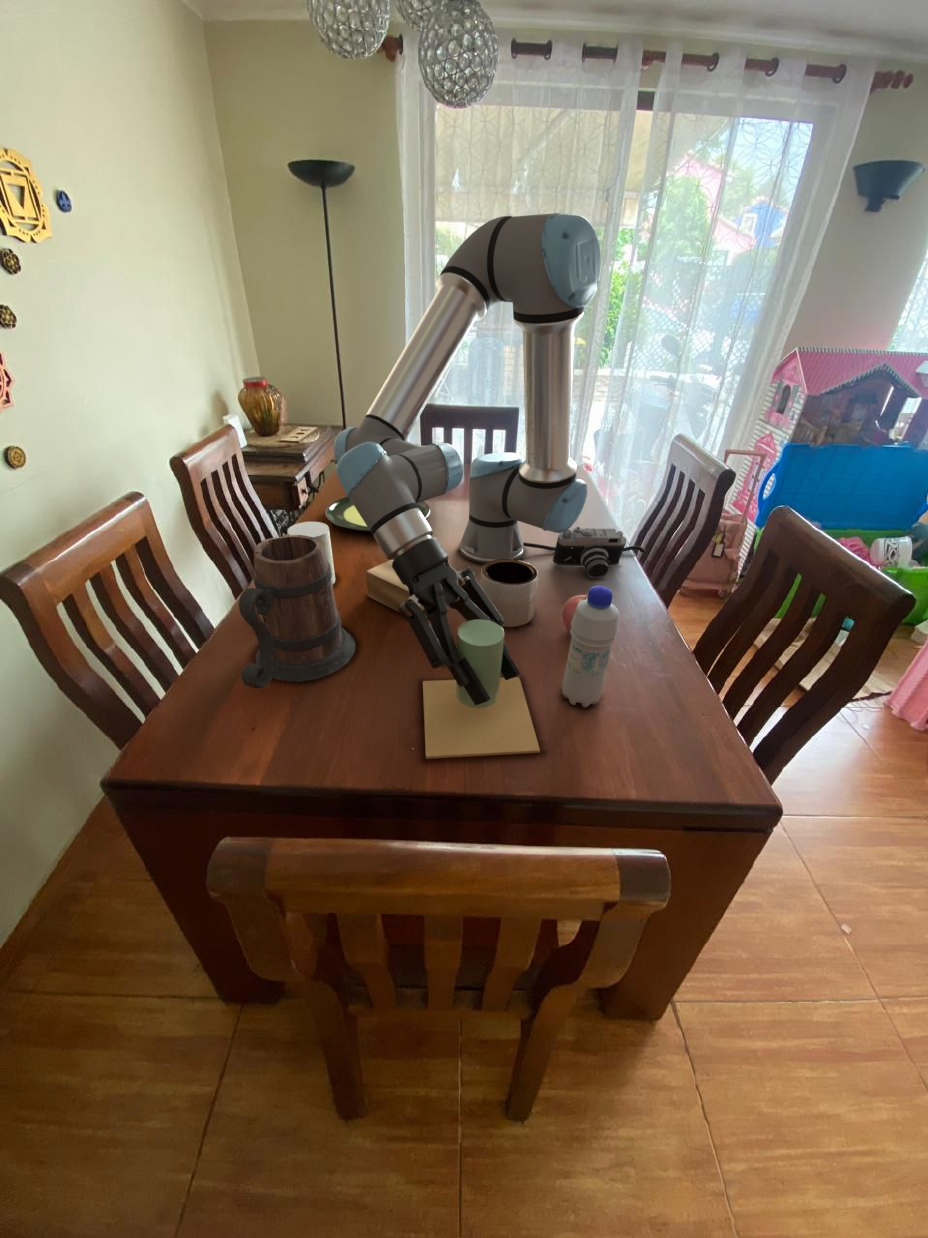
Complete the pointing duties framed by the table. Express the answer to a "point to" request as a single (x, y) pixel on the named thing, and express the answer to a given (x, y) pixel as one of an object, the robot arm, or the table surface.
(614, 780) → the table surface
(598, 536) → the camera
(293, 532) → the cup
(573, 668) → the bottle
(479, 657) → the canister
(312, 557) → the tankard
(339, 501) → the plate
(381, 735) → the table surface
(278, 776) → the table surface
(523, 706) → the cork mat
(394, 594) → the plate
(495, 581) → the planter
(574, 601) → the apple
